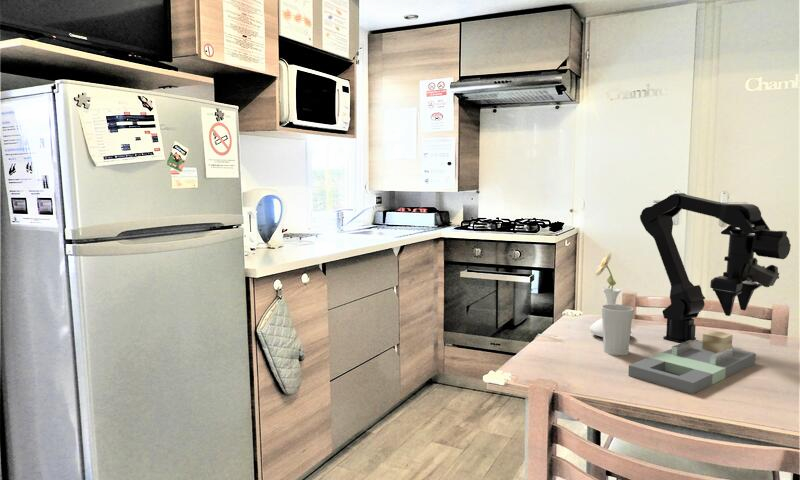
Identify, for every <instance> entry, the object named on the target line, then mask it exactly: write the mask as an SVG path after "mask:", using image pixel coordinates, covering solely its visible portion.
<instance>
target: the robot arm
mask: <svg viewBox="0 0 800 480" xmlns="http://www.w3.org/2000/svg"><path fill="white" fill-rule="evenodd" d="M681 210H685V211H690V212H694V213H697V214H700V215H706V216H709V217H713V218H716V219H718V220H720V221H721V222H722V223H725V224H726V225H727V227H726V228H725V229H723V230H722V231H721V232H720V234H721V235H728V236H729V240H728V250H727V256H724V260H723V261H725V262H726V271H725V272H723V273H722V274H723V275H719V276H716V277H714V278H712V279H711V280H710V284H709V286H710V287H709V288H710V289H712V291H713V292H714V293H715V295H716V298H717V299H718V301H719V304H720V306H721V308H722V311H723V314H724V315H725V316H726V317H731V314H732V312H733V308H734V303H735V299H736V297H737V301H738V304H739V308H740V310H742V311H746V310H747V307H748V305H749V303H750V300H751V299H752V296H753V294H754V292H755V291H756V290H757V289H759V288H760V287H764V288H770V287H773V286H774V285H775V283H776V281H777V280H778V279H780V276H779V275H780V273H779V267H778V266H776V265H774V264H769V265H768V266H765V265H760V264H758V262H759V261H758V259H757V257H754V255H756V256H758V257H763V258H771V259H777V260H785V259H786V258H787V257H788V256H789V254H790V251H791V247H792V245H791V243H790V238H789V237H788V236H787V235H788V231H787V230H771V229H770V227H769V225H768V224H767V222H765V220H764V218H763V217H762V211H761V210H760V208H759V206H757V205H755V204H754V203H753V204H752V203H725V202H720V201H715V200H711V199H707V198H703V197H699V196H698V197H697V196H694V195H689V194H686V193H684V192H680V193H679V192H677V193H676V192H675V193H672V194H671V195H668V196H667V197H666V198H664V199H662V200H660V201H658V202H655V203H654V204H653V205H651V206H647V207H644V208H643V209H642V210H641V213H640V215H639V219H640V222H641V224H642V226H643V228H644V230H645V231H646V232H647V233H648V234H649V235H650V236H651V237H652V238H653V240H654V242H655V245H656V248H657V250H658V253H659V256H660V259H661V261H662V264H663V266H664V270H665V273H666V275H667V278H668V281H669V283H670V291H669V300H670V304H669V305H668V306H667V307H665V309H663V310H662V315H663V318H664V319H666V331H665V332H666V335H665V336H664V335H663V337H662V338H663V339H665V340H668V341H669V340H670V341H673V342H677V343H683V342H686V341H688V340H693V341H694V340H696V341H697V337H696V325H695V319H696V318H698V316H699V313H701V311H703V309H704V307H705V299H706V297H705V296H704V294H703V291H702V287H701V285H700V284H697V285H694V284H693V283H692V282H691V281H690V279H689V276H688V274H687V271H686V268H685V266H684V263H683V260H682V257H681V255H680V251H679V250H678V246H677V244H676V242H675V241H676V240H675V239H674V236H673V227H674V222H673V218H674V217H675V216H677V215H678V214H679V213H680V212H681Z"/></svg>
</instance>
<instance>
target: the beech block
mask: <svg viewBox="0 0 800 480" xmlns="http://www.w3.org/2000/svg"><path fill="white" fill-rule="evenodd" d="M701 342H702V349H703V350H708V351H712V352H717V353H718V352H720V351H722V350H725V349H727V348H729V349H732V348H733V334H732V333H727V332H723V331H716V330H710V331H707V332H705V333H703V334H702V341H701Z"/></svg>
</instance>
